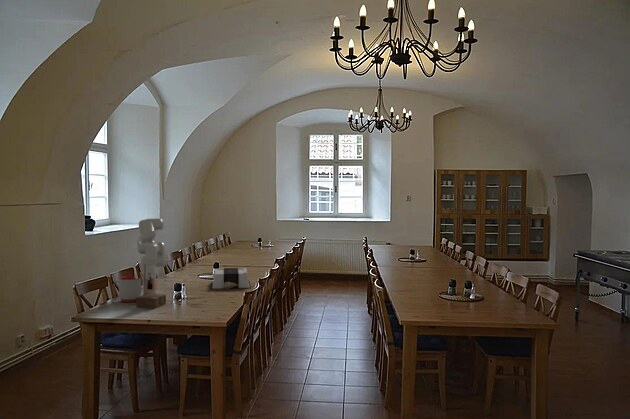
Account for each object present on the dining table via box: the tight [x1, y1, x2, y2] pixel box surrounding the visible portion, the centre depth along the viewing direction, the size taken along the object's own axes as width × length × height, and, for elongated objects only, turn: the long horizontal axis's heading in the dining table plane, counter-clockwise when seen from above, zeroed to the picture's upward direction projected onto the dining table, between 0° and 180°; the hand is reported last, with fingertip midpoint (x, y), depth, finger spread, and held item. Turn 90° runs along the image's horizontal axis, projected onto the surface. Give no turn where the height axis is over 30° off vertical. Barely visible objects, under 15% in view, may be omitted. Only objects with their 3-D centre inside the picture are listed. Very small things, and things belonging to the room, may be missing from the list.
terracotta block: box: [146, 277, 158, 292], centre depth 344 cm, size 6×6×8 cm
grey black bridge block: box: [209, 267, 252, 290], centre depth 421 cm, size 35×33×12 cm
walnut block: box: [135, 293, 167, 310], centre depth 345 cm, size 14×14×7 cm
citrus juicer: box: [118, 273, 143, 304], centre depth 359 cm, size 16×17×20 cm
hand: (151, 288), depth 344 cm, fingers closed on terracotta block, 6 cm apart
